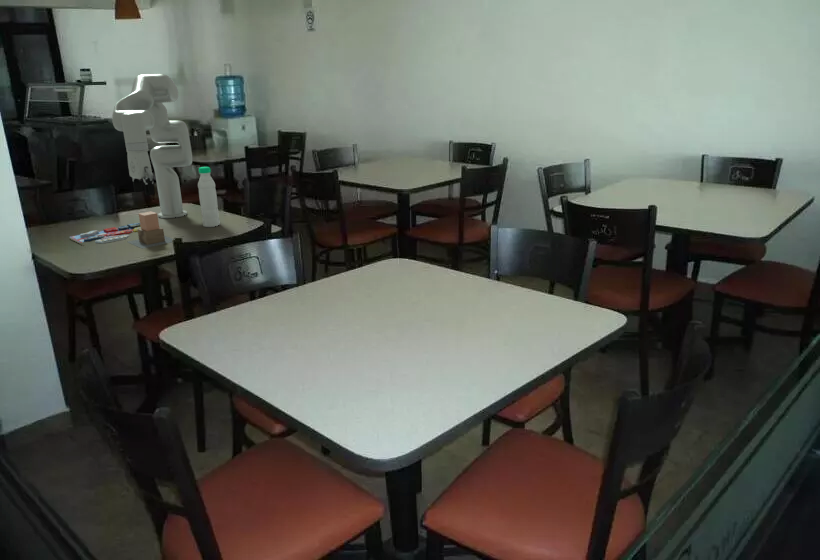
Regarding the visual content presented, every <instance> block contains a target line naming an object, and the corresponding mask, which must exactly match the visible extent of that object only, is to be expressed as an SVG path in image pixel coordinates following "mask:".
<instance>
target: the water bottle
mask: <svg viewBox="0 0 820 560" xmlns="http://www.w3.org/2000/svg"><path fill="white" fill-rule="evenodd" d="M211 170H212V169H211V167H209V166H201V167H199V168H198V174H199V175H200V177H199V180H198V181H197V188H198V197H199V199H198V200H199V204H200V205H199V206H200V208H201V210H200V211H201V212H200V213H201V217H202V219H201V221H202V226H203V227H205V228H216V227H219V226H220V224H221V221H220V214H219V213H220V212H219V209H218V207H219V206H218V196H217V190H216V183H215V181H214V179H213V178H212V176H211V172H212V171H211ZM218 225H219V226H218ZM215 226H216V227H215Z"/></svg>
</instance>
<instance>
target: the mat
mask: <svg viewBox="0 0 820 560" xmlns="http://www.w3.org/2000/svg"><path fill="white" fill-rule="evenodd" d="M164 237H165V241H163V242H158V243H154V244H149V245H146V244H144V243H142V242H139V238H138V239H135V240H129V241H127V243H128V244H131V245H133V246H134V247H137V248H140V249H147V248H152V247H156V246H161V245H165V244H169V243H173V242H172V240H173V239H174V238H172V237H169V236H166V235H164Z"/></svg>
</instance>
